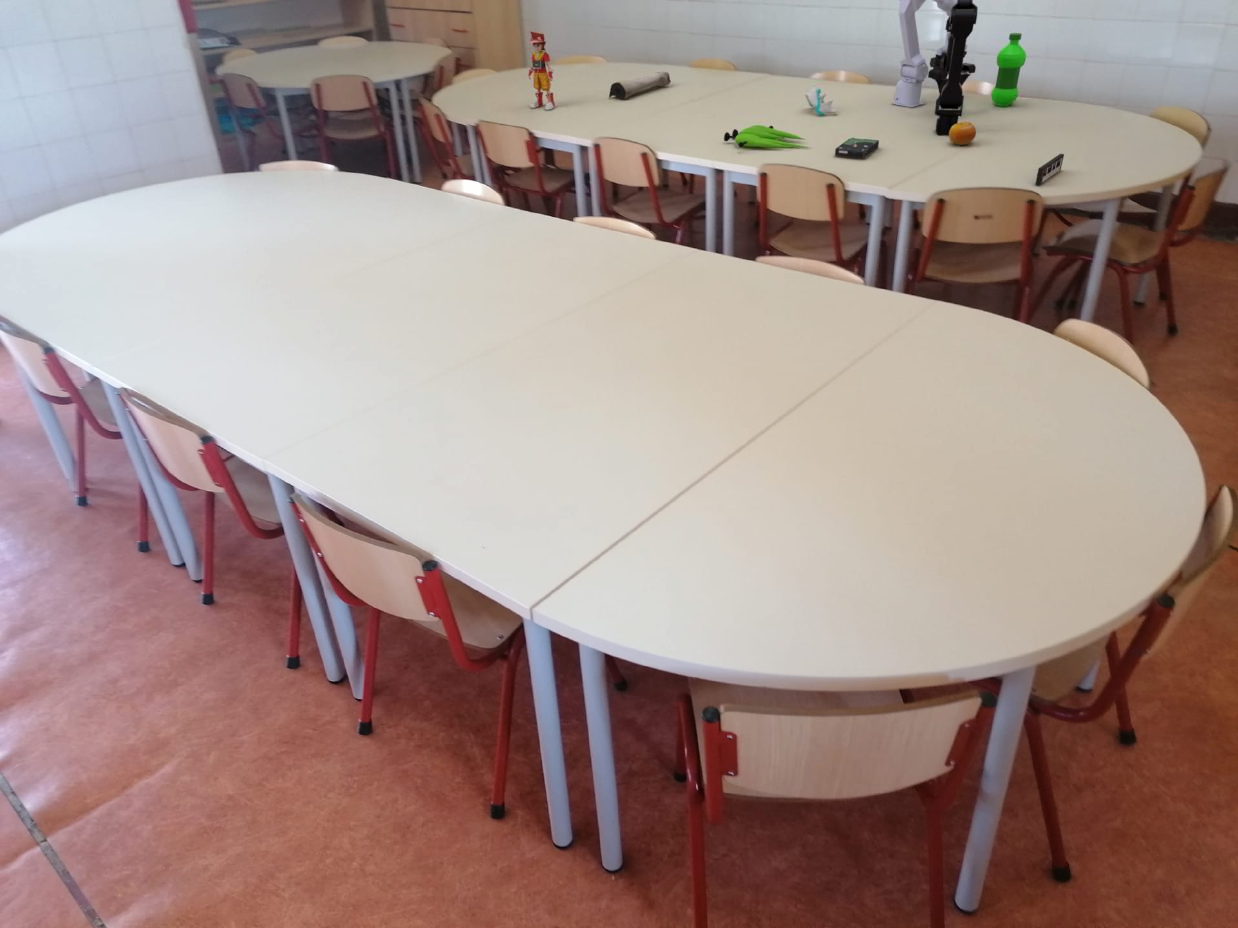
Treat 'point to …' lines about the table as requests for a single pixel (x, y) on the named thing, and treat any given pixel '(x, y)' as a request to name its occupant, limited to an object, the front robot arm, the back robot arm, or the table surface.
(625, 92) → the rolled mat
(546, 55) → the toy
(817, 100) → the anatomical model
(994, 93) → the plastic bottle
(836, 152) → the disk drive
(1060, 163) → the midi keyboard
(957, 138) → the fruit
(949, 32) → the back robot arm
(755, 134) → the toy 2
